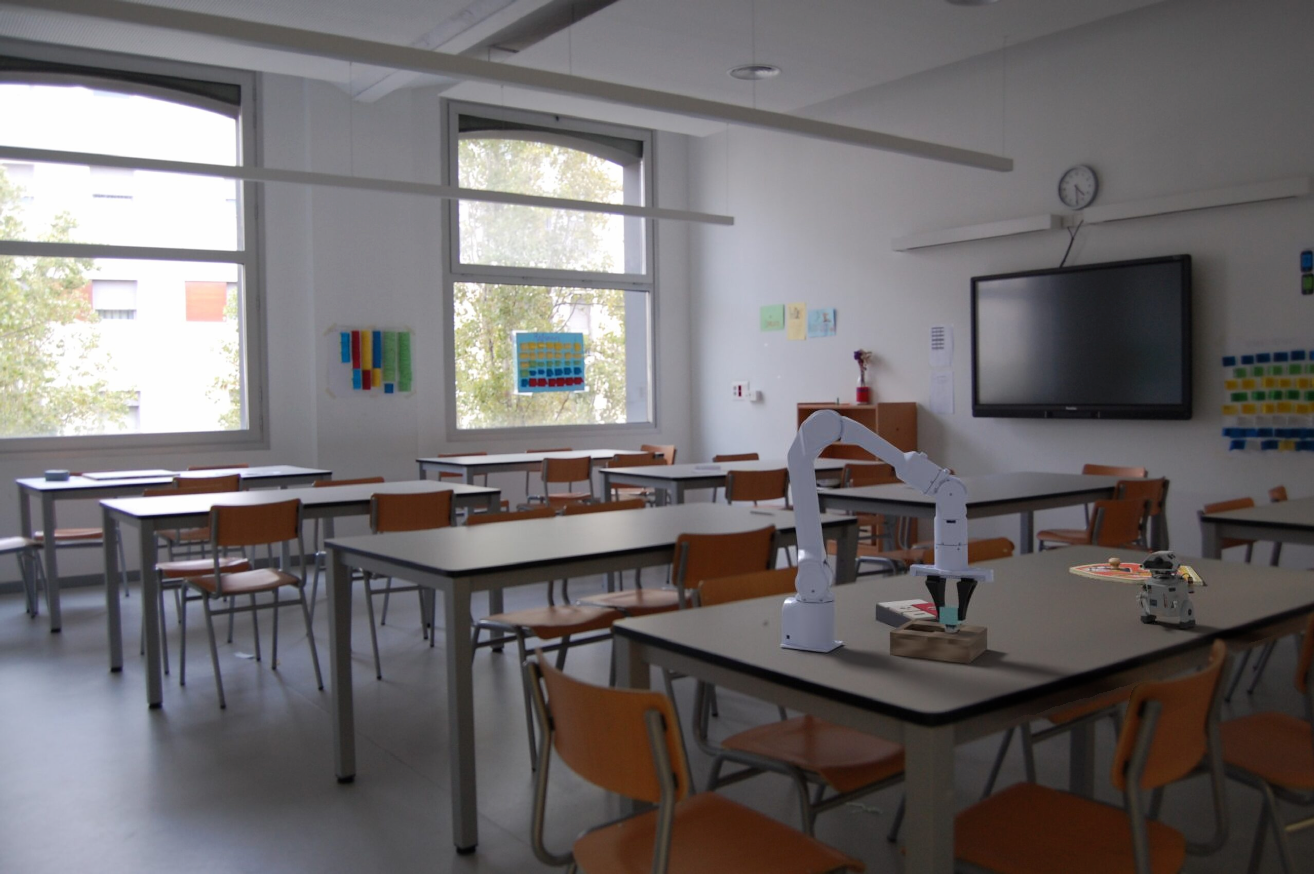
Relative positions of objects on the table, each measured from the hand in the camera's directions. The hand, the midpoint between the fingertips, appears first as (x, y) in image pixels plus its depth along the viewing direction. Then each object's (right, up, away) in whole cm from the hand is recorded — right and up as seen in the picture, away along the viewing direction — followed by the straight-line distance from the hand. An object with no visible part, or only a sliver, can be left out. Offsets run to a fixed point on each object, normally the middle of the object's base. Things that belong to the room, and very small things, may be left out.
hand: (951, 618), depth 183 cm
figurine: (+47, -5, +18) cm, 51 cm away
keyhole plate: (-2, -6, +1) cm, 7 cm away
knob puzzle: (+69, -3, +78) cm, 104 cm away
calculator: (0, -6, +24) cm, 25 cm away
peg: (0, -6, 0) cm, 6 cm away
